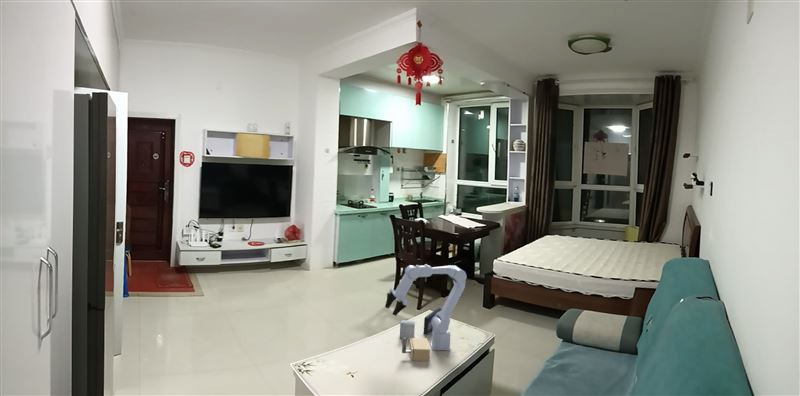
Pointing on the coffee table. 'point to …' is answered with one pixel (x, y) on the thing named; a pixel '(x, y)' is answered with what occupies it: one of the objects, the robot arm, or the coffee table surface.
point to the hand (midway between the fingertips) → (390, 311)
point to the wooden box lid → (409, 347)
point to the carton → (420, 349)
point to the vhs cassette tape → (429, 321)
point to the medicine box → (407, 329)
